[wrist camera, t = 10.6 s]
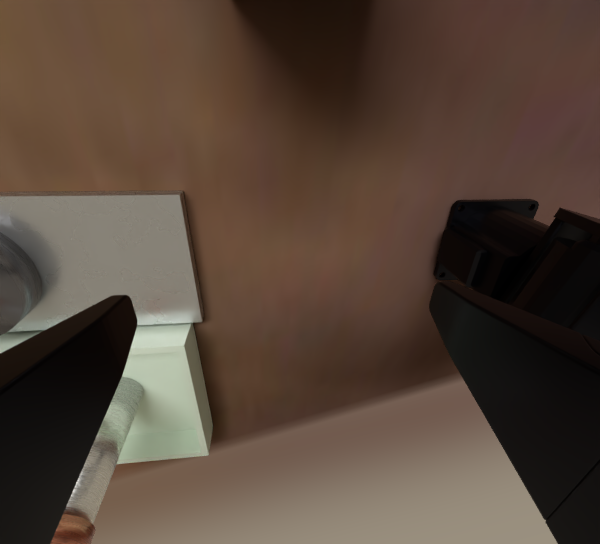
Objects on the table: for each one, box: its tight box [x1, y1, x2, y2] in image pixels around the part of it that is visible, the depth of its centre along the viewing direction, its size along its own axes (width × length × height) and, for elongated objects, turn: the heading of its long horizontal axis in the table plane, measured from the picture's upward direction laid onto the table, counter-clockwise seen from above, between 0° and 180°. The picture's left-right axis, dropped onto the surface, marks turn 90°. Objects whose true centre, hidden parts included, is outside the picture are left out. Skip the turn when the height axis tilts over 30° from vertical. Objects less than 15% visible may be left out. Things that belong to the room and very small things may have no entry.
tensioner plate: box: [0, 191, 204, 335], centre depth 19 cm, size 18×10×5 cm, turn 89°
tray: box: [0, 323, 213, 464], centre depth 26 cm, size 14×14×3 cm
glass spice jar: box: [51, 377, 144, 544], centre depth 22 cm, size 4×4×12 cm
